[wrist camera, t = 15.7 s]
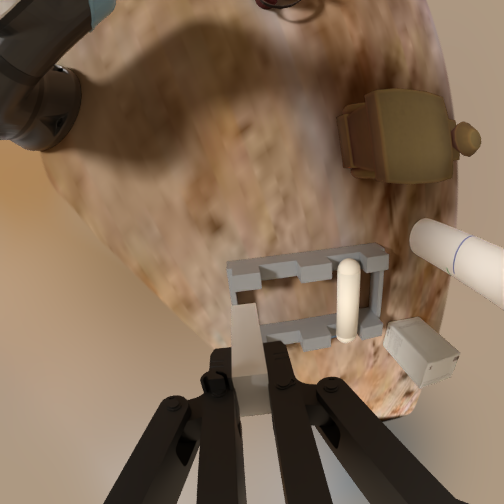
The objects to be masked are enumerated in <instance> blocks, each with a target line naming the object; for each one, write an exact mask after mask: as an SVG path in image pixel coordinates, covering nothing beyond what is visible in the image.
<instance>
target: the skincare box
mask: <svg viewBox="0 0 504 504" xmlns="http://www.w3.org/2000/svg"><path fill="white" fill-rule="evenodd" d="M383 346H384V347H385V348H386V350H387V351H388V352H389V353H390V354H391V356H392V357H393V358H394V359H395V360H396V361H397V363H398V364H399V365H400V366H401V367H402V368H403V370H404V371H405V372H406V373H407V374H408V376H409V377H410V378H411V379H412V380H413V381H414V383H415V384H416V385H417V386H418V388H419V389H421V388H424V387H426V386H429V385H432V384H435V383H437V382H440V381H442V380H445V379H448V378H450V377H451V375H452V373H453V371H454V368H455V366H456V363H457V360H458V358H459V355H460V352H459V351H458V350H457V349H456V348H454V347H453V346H452V345H451V344H450V343H449V342H447V341H446V340H445V339H444V338H443V337H442V336H441V335H440V334H438V333H437V332H436V331H435V330H434V329H433V328H431V327H430V326H429V325H428V324H427V323H425V322H424V321H423V320H422V319H421V318H420V317H414V318H409V319H403V320H397V321H392V322H388V326H387V331H386V334H385V338H384V342H383Z"/></svg>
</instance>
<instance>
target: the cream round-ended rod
mask: <svg viewBox="0 0 504 504" xmlns="http://www.w3.org/2000/svg"><path fill="white" fill-rule="evenodd" d="M360 273H361V270H360V265H359V263H358V262H357V261H356V260H354V259H351V258H347V259H344V260H342V261H341V262H340V263H339V265H338V268H337V319H336V336H337V339H338V340H339V341H340V342H342V343H350V342H352V341H353V340H354V339H355V338H356V335H357V327H358V313H359V297H360Z"/></svg>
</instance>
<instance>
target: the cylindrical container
mask: <svg viewBox="0 0 504 504" xmlns="http://www.w3.org/2000/svg"><path fill="white" fill-rule="evenodd" d="M409 242H410V247H411V250H412V251H413V253H415V254H416V255H417V256H419V257H421V258H423V259H424V260H426V261H428V262H429V263H431V264H433V265H434V266H436V267H438V268H439V269H441V270H443V271H444V272H446V273H448V274H449V275H451V276H453V277H454V278H456V279H458V280H459V281H461V282H462V283H464V284H465V285H467V286H469V287H470V288H471V289H473V290H474V291H476V292H477V293H479V294H480V295H482V296H484V297H485V298H486V299H488V300H489V301H491V302H492V303H494V304H495V305H497V306H498V307H500V308H501V309H502V310H504V248H502V247H500V246H497V245H495V244H493V243H491V242H488V241H486V240H484V239H481V238H479V237H476V236H474V235H471V234H469V233H466V232H464V231H461V230H459V229H456V228H454V227H451V226H448V225H446V224H443V223H440V222H438V221H435V220H432V219H429V218H423V219H421V220H419V221H418V222H417V223H416V224H415V225H414V226H413V228H412V230H411V233H410V240H409Z"/></svg>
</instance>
